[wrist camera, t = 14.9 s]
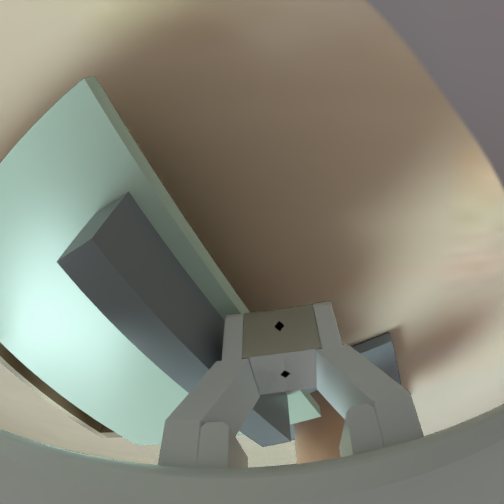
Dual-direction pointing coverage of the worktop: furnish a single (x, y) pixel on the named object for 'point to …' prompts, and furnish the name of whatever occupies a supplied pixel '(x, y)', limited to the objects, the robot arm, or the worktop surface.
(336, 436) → the mushroom head peg
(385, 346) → the mat
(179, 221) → the lid
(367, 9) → the worktop surface
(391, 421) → the robot arm
